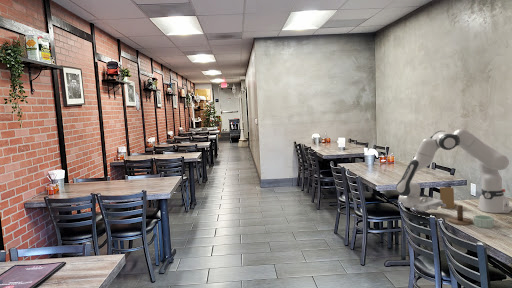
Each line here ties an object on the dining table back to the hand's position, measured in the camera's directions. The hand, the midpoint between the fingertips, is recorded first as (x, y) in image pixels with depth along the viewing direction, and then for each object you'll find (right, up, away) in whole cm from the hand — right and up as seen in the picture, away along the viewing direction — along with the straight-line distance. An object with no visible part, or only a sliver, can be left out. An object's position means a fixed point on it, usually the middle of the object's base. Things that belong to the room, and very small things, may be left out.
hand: (441, 207), depth 227 cm
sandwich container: (+19, -4, +27) cm, 33 cm away
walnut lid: (+7, -8, -10) cm, 14 cm away
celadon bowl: (+15, -7, -18) cm, 25 cm away
